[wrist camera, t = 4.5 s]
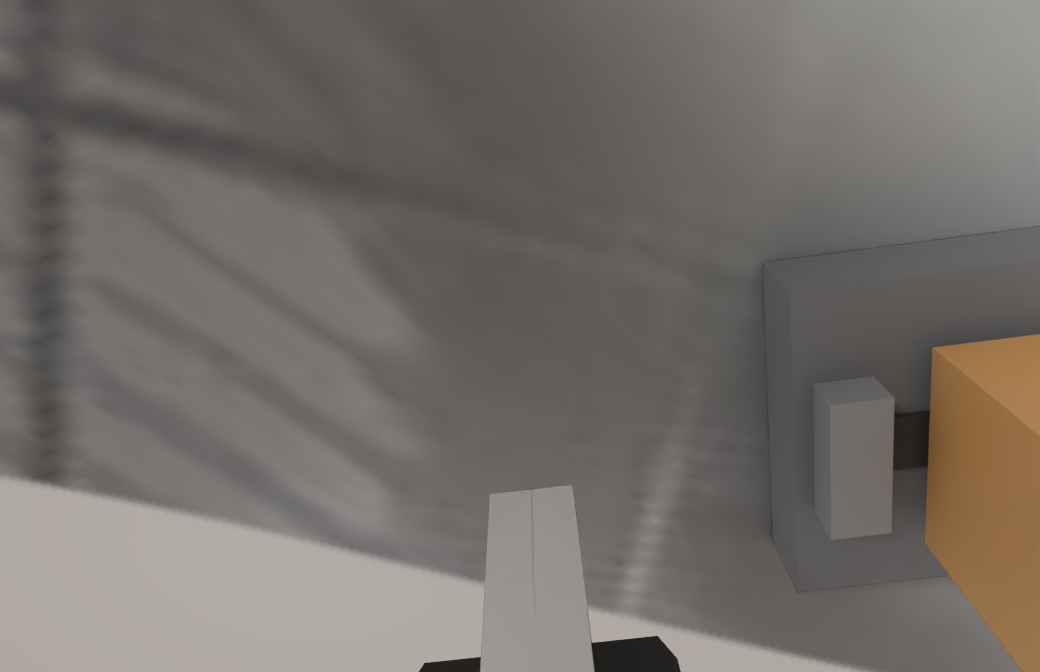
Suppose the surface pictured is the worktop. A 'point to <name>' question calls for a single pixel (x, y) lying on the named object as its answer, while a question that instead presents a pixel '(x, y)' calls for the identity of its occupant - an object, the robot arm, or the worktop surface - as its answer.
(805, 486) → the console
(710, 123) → the worktop surface
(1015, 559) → the slider
